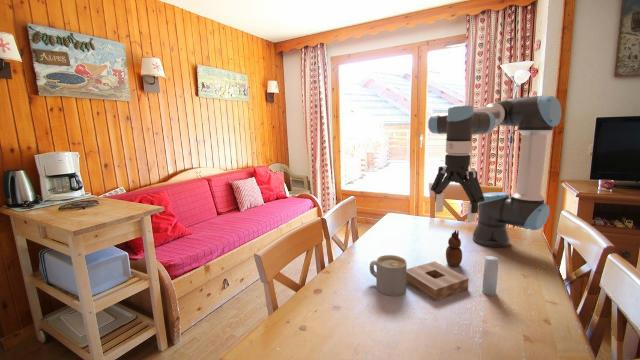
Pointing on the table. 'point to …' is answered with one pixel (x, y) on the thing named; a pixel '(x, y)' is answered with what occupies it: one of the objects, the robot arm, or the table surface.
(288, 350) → the table surface
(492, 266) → the peg
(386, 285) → the coffee mug
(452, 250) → the wooden figurine
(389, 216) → the table surface
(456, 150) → the robot arm
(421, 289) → the bore block
